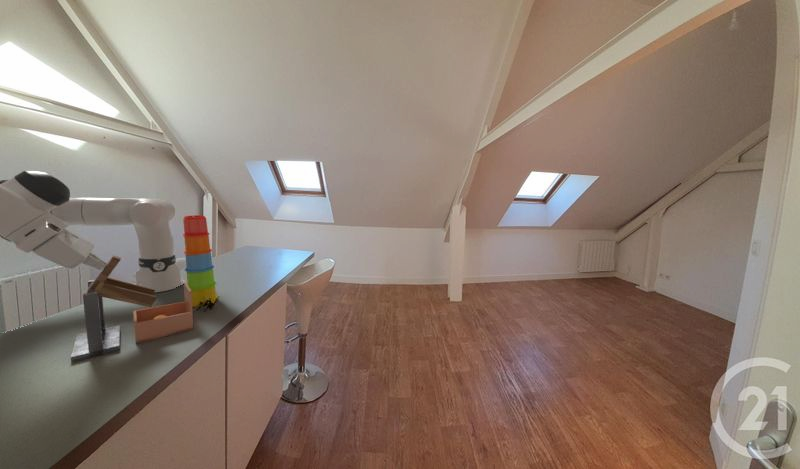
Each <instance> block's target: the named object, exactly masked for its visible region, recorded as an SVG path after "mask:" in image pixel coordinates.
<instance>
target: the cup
mask: <svg viewBox="0 0 800 469" xmlns="http://www.w3.org/2000/svg"><path fill="white" fill-rule="evenodd" d="M183 294H184V297H183V298H184V301H180V302H174V303H169V304H168V303H167V304H162V305H158V306H157V305H156V306H151V307H147V308H141V309H136V310H133V312H132V313H133V326H134V327H133V328H134V335H135V337H134V338H135V344H141V343H145V342H148V341H152V340H156V339H160V338H165V337H168V336H169V337H170V336H172V335H177V334H181V333H185V332H189V331H190V332H191V331H194V317H193V314H194V311H193V307H192V291H191V289H190V288H189V286H188V284H187V281H186V282H184V285H183ZM159 315H165V316H167V317H163V318H158V319H154V318H155V317H157V316H159Z"/></svg>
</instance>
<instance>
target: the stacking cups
mask: <svg viewBox="0 0 800 469" xmlns="http://www.w3.org/2000/svg"><path fill="white" fill-rule="evenodd" d="M183 231H184V233H183V237H184V247H185V250H184V252H183V254H185V255H184V256H185V266H186V268H184V271H185V272H186V283H187V284H188V286H189V288H190V289H191V291H192V308H194V307H195V308H199V307H200V306H201V305H200V302H203V305H204V302H206V300H210V299H211V302H212V303H214V302H215V300H216V298H217V297H218V295H216V291H217V290H216V285H217V281H216V280H215V276H214V269H215V266H214V265H213V260H212V251H213V249H212V248H211V246H210V244H211V243H210V237H209V236H210V232H209V231H208V222H207V218H206V216H205V215H201V214H200V215H199V214H198V215H185V216H184V218H183ZM203 298H204V299H203ZM209 298H210V299H209ZM218 300H219V298H218V299H217V301H218ZM208 303H209V302H208ZM197 305H198V306H197ZM199 305H200V306H199ZM203 305H202V306H201V307H204V306H203Z"/></svg>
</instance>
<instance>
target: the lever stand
mask: <svg viewBox="0 0 800 469" xmlns="http://www.w3.org/2000/svg"><path fill="white" fill-rule="evenodd" d="M94 281H95V279H91V280H88V281H87V287H88V288H89V285H90V283H92V282H94ZM88 288H87V289H88ZM103 298H104V297H100V296H98V292H93V293H87V292H86V293H83V294H82V299H83V300H82V301H83V310H84V320H85V329H86V332H81V333H77V334H76V338H75V341H74V345H73V348H72V351H71V354H70V363H71V364H72V363H75V362H80V361H83V360H87V359H92V358H96V357H99V356H103V355H107V354H111V353H115V352H116V353H117V352H119V351H120V350H121V344H120V343H121V325H114V326H110V327H106V322H105V312H104V309H105V308H104V299H103Z"/></svg>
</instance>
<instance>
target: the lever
mask: <svg viewBox="0 0 800 469" xmlns="http://www.w3.org/2000/svg"><path fill="white" fill-rule="evenodd" d="M121 258H122V257H120V256H117V255H115V254H113V255H112V257H111V258H110V259H109V261H108V262H106V263H107V264H106V267H104V268H103V269H102V270H100V273H99V274H98V275H97V276H96V278H95V279H94V280H95V281H94V282H92V283H90V285H89V288H87V292H86V293H93V292H98V296H100V297H102V298H105V299H111V300H115V301H121V302H123V303H124V302H125V303H128V304H133V305H136V306H137V305H138V306H143V307H147V308H151V307H153V305H154V303H155V301H156V300H157V299H158V296H157V295H154V293H156V292H155V290H154V289H151V288H147V287H143V286H139V285H135V284H134V283H131V282H127V281H123V280H119V279H116V278H112V277H110V275H111V274H112V272H113V271H114V270H115V268H116V267H117V266H118V264H119V263H120V262H121Z"/></svg>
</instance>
